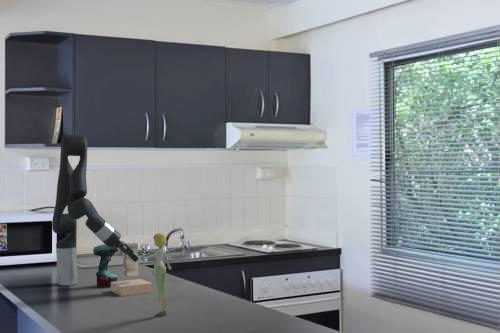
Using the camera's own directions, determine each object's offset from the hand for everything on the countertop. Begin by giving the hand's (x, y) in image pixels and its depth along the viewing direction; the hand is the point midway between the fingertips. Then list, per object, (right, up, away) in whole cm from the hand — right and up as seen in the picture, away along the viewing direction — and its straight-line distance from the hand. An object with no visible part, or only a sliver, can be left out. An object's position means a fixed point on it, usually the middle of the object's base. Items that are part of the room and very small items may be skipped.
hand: (134, 259), depth 305 cm
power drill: (-13, -14, +14) cm, 24 cm away
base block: (-1, -14, -1) cm, 14 cm away
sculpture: (+18, -14, -50) cm, 55 cm away
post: (-1, -7, -1) cm, 7 cm away
